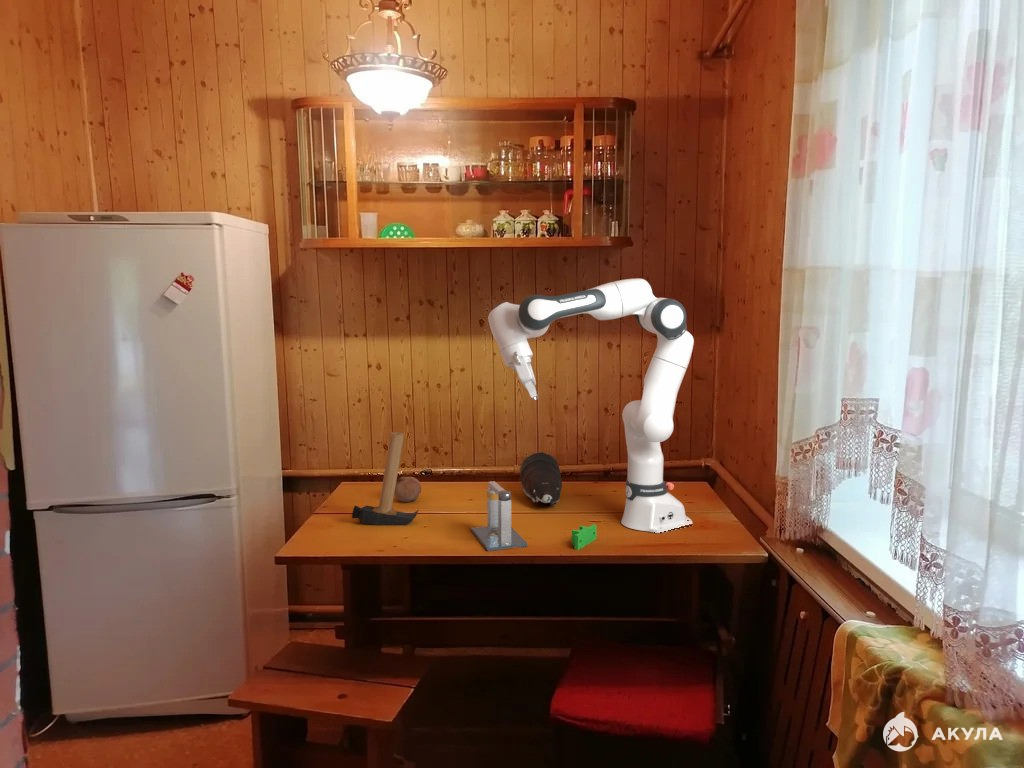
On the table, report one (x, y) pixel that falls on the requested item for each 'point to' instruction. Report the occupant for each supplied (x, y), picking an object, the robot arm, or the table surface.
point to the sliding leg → (492, 508)
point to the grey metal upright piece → (503, 512)
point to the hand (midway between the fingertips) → (535, 398)
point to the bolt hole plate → (491, 538)
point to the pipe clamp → (583, 536)
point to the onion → (407, 489)
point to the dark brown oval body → (541, 478)
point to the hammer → (387, 492)
